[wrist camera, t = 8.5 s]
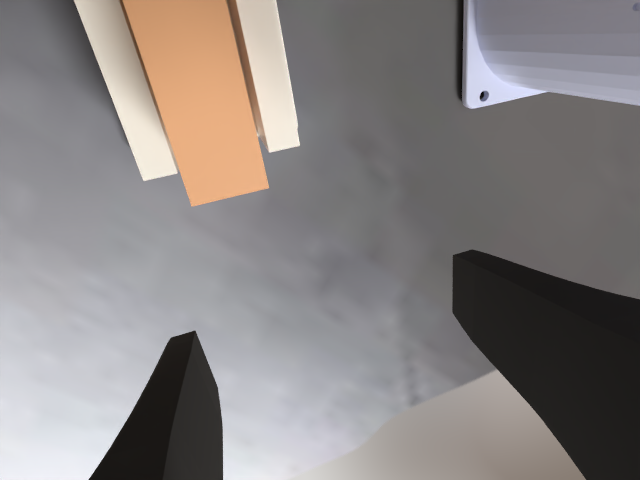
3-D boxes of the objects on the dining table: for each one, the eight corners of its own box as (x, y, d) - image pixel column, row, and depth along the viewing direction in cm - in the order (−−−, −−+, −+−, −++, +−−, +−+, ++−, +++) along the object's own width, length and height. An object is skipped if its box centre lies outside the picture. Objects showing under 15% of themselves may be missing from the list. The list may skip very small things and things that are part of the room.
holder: (242, -167, 14) (255, -231, 11) (294, 123, 19) (315, 142, 15) (24, -147, 13) (-36, -210, 10) (139, 157, 18) (126, 184, 14)
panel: (169, -176, 13) (142, -368, 7) (244, 136, 18) (269, 188, 12) (96, -170, 12) (0, -365, 6) (194, 147, 17) (191, 206, 11)
